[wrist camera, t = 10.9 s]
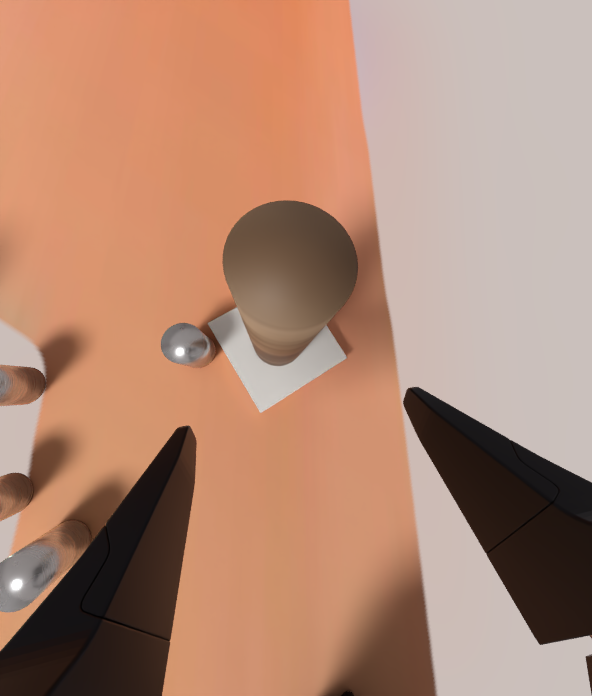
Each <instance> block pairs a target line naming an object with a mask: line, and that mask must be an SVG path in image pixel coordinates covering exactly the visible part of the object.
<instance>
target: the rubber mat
mask: <svg viewBox="0 0 592 696" xmlns="http://www.w3.org/2000/svg"><path fill="white" fill-rule="evenodd" d="M208 325H209V327H210V328H211V330H212V332H213V333H214V335H215V337H216V338H217V340H218V342H219V343H220V345H221V347H222V349H223V350H224V352H225V354H226V355H227V357H228V359H229V360H230V362H231V364H232V365H233V367H234V369H235V371H236V372H237V374H238V376H239V377H240V379H241V381H242V382H243V384H244V386H245V387H246V389H247V391H248V393H249V394H250V396H251V398H252V399H253V401H254V403H255V404H256V406H257V408H258V409H259V411H260V413H261V412H263V411H265V410H266V409H268V408H269V407H271V406H272V405H274V404H276V403H277V402H279V401H280V400H282V399H283V398H285V397H287V396H288V395H290V394H291V393H293V392H294V391H296V390H298V389H299V388H301V387H302V386H304V385H305V384H307V383H309V382H310V381H312V380H313V379H315V378H316V377H318V376H320V375H321V374H323V373H324V372H326V371H327V370H329V369H331V368H332V367H334V366H335V365H337V364H338V363H340V362H342V361H343V360H345V359H346V358H347V357H346V355H345V354H344V352H343V350H342V349H341V347H340V346H339V344H338V343H337V341H336V339H335V338H334V336H333V335H332V333H331V332H330V330H329V328H328V327H327V325H326V326H325V327H324V328H323V329H322V330H321V331H320V332H319V333H318V335H317V336H316V337H315V338H314V339H313V340H312V341H311V342H310V344H309V345H308V346H307V347H306V348H305V349H304V350H303V351H302V353H301V354H300V355H299V356H298V357H297V358H296V359H295V360H294V361H293V362H291V363H289V364H287V365H284V366H273V365H269V364H267V363H265V362H264V361H262V360H261V359H260V358H259V357H258V355H257V354H256V352H255V350H254V347H253V345H252V342H251V340H250V338H249V335H248V333H247V330H246V328H245V325H244V323H243V320H242V318H241V316H240V313H239V311H238V308H237V307H236V308H235V309H233V310H231V311H229V312H227V313H225V314H223V315H222V316H220V317H218V318H216V319H214V320H212V321H211V322H209V323H208Z"/></svg>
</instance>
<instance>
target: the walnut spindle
mask: <svg viewBox="0 0 592 696" xmlns="http://www.w3.org/2000/svg"><path fill="white" fill-rule="evenodd" d="M223 270H224V275H225V278H226V281H227V284H228V286H229V289H230V291H231V294H232V296H233V298H234V301H235V303H236V306H237V308H238V311H239V313H240V316H241V318H242V320H243V323H244V325H245V328H246V330H247V333H248V335H249V338H250V340H251V342H252V345H253V347H254V350H255V352H256V354H257V355H258V357H259V358H260V359H261V360H262V361H264V362H265V363H267V364H269V365H273V366H284V365H287V364H289V363H291V362H293V361H294V360H295V359H296V358H297V357H298V356H299V355H300V354H301V353H302V351H303V350H304V349H305V348H306V347H307V346H308V345H309V344H310V342H311V341H312V340H313V339H314V338H315V337H316V336H317V335H318V333H319V332H320V331H321V330H322V329H323V328H324V327H325V326H326V324H327V323H328V322H329V321H330V320H331V319H332V318H333V317H334V315H335V314H336V313H337V312H338V311H339V310H340V309H341V308H342V306H343V305H344V304H345V303H346V301H347V300H348V299H349V297H350V295H351V293H352V291H353V289H354V286H355V283H356V279H357V272H358V262H357V255H356V251H355V248H354V245H353V242H352V240H351V238H350V236H349V235H348V233H347V232H346V230H345V229H344V228H343V226H342V225H341V224H340V223H339V222H338V221H337V220H336V219H335V218H334V217H332V216H331V215H330V214H328V213H327V212H325V211H323V210H322V209H320V208H318V207H315V206H313V205H310V204H307V203H304V202H298V201H275V202H270V203H267V204H263V205H261V206H259V207H256V208H254V209H253V210H251V211H249V212H248V213H247V214H245V215H244V216H243V217H242V218H241V219H240V220H239V221H238V222H237V223H236V224H235V225H234V227H233V228H232V230H231V231H230V233H229V235H228V237H227V240H226V243H225V246H224V251H223Z"/></svg>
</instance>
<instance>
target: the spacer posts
mask: <svg viewBox="0 0 592 696" xmlns="http://www.w3.org/2000/svg"><path fill="white" fill-rule="evenodd" d="M161 349H162V352H163V354H164V355H165V357H166V358H167V359H169V360H170V361H172V362H175V363H178V364H182V365H186V366H189V367H193V368H202V367H205V366H207V365H208V364H209V363H211V361H212V360H213V359H214V356H215V352H216V349H215V345H214V343H213V341H212V340H211V339H210V338H209V337H207V336H206V335H205V334H204V333H203V332H201V331H200V330H199V329H198V328H197V327H195V326H193V325H191V324H188V323H179V324H176V325H173V326H171V327H170V328H169V329H167V330H166V332H165V333H164V335H163V337H162V340H161ZM45 385H46V382H45V377H44V375H43V374H42V373H41V372H40V371H39V370H37V369H35V368H30V367H20V366H19V367H18V366H9V365H0V406H9V405H23V404H29V403H31V402H33V401H35V400H37V399H38V398H39V397H40V396H41V395H42V393H43V391H44V389H45ZM32 494H33V486H32V483H31V481H30V479H29V478H28V477H27V476H25V475H23V474H20V473H10V474H7V475H4V476H1V477H0V521H2V520H4V519H6V518H8V517H10V516H12V515H14V514H16V513H18V512H20V511H21V510H23V509H24V508H25V507H26V506H27V505H28V503H29V502H30V500H31V498H32ZM90 541H91V534H90V531H89V529H88V527H87V526H86V525H85V524H84V523H83V522H81V521H78V520H69V521H65V522H63V523H61V524H59V525H58V526H56V527H55V528H53V529H52V530H50V531H49V532H47V533H45V534H44V535H42V536H41V537H39V538H38V539H36V540H35V541H33V542H32V543H30V544H28V545H27V546H25V547H24V548H22V549H21V550H19V551H18V552H16V553H14V554H13V555H11V556H10V557H8V558H7V559H5V560H4V561H3V562H1V563H0V611H2V612H15V611H18V610H21V609H23V608H25V607H26V606H28V605H29V604H30V603H31V602H32V601H33V600H35V599H36V598H37V597H38V596H39V595H40V594H41V593H42V592H44V591H45V590H46V589H47V588H48V587H49V586H50V585H51V584H52V583H54V582H55V581H56V580H57V579H58V578H59V577H60V576H61V575H62V574H64V573H65V572H66V571H67V570H68V569H69V568H70V567H71V566H73V565H74V564H75V563H76V562H77V560H78V559H79V558H80V557H81V555H82V554H83V553H84V552H85V550H86V549H87V548H88V546H89V545H90Z"/></svg>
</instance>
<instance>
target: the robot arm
mask: <svg viewBox="0 0 592 696" xmlns="http://www.w3.org/2000/svg"><path fill="white" fill-rule="evenodd" d="M403 404H404V407H405V410H406V412H407V414H408V416H409V418H410V420H411V423H412V425H413V427H414V429H415V432H416V433H417V435H418V438H419V440H420V441H421V443H422V445H423V447H424V448H425V450H426V452H427V454H428V455H429V457H430V459H431V460H432V462H433V464H434V465H435V467H436V469H437V471H438V472H439V474H440V476H441V477H442V479H443V481H444V483H445V484H446V486H447V488H448V489H449V491H450V493H451V495H452V496H453V498H454V500H455V501H456V503H457V505H458V507H459V508H460V510H461V512H462V513H463V515H464V516H465V518H466V520H467V522H468V524H469V525H470V527H471V529H472V530H473V532H474V534H475V536H476V537H477V539H478V540H479V542H480V544H481V546H482V548H483V549H484V551H485V553H487V556H488V558H489V560H490V562H491V563H492V565H493V566H494V568H495V570H496V572H497V573H498V575H499V577H500V579H501V580H502V582H503V584H504V585H505V587H506V589H507V591H508V592H509V594H510V596H511V597H512V599H513V601H514V603H515V604H516V606H517V608H518V609H519V611H520V613H521V614H522V616H523V618H524V620H525V621H526V623H527V625H528V626H529V628H530V630H531V632H532V633H533V635H534V637H535V638H536V639H537V641H538V643H539V644H540V645H543V644H548V643H552V642H558V641H563V640H568V639H574V638H579V637H583V636H590V637H591V638H592V483H591V482H589V481H587V480H585V479H583V478H581V477H580V476H578V475H575V474H574V473H572V472H569V471H568V470H566V469H564V468H562V467H560V466H558V465H556V464H554V463H552V462H550V461H548V460H546V459H544V458H542V457H540V456H538V455H537V454H535V453H533V452H531V451H529V450H528V449H526V448H524V447H522V446H520V445H519V444H517V443H515V442H513V441H511V440H509V439H508V438H506V437H505V436H503V435H501V434H499V433H498V432H496V431H494V430H492V429H491V428H489V427H487V426H485V425H484V424H482V423H480V422H478V421H477V420H475V419H473V418H471V417H470V416H468V415H466V414H464V413H462V412H461V411H459V410H457V409H456V408H454V407H452V406H450V405H449V404H447V403H445V402H443V401H442V400H440V399H438V398H436V397H435V396H433V395H431V394H429V393H428V392H426V391H424V390H422V389H421V388H419V387H412V388H408V389H407V391H406V394H405V398H404V401H403ZM195 466H196V438H195V435H194V433H193V431H192V429H191V427H190V426H182V427H179V428H177V429H176V431H175V432H174V433H173V435H172V436H171V437H170V439H169V440H168V441H167V443H166V444H165V445H164V447H163V448H162V449H161V451H160V452H159V453H158V455H157V456H156V457H155V459H154V460H153V461H152V463H151V464H150V465H149V467H148V468H147V469H146V471H145V472H144V473H143V475H142V476H141V477H140V479H139V480H138V481H137V483H136V484H135V485H134V487H133V488H132V489H131V491H130V492H129V493H128V495H127V496H126V497H125V499H124V500H123V501H122V503H121V504H120V505H119V507H118V508H117V509H116V511H115V512H114V513H113V515H112V516H111V517H110V519H109V520H108V521H107V523H106V526H104V527H103V528H102V529H101V531H100V532H99V533H98V535H97V536H96V537H95V539H94V540H93V541H92V542H91V544H90V545H89V546H88V548H87V549H86V550H85V552H84V553H83V554H82V555H81V557H80V558H79V559H78V560H77V562H76V563H75V564H74V565H73V567H72V568H71V569H70V570H69V571H68V573H67V574H66V575H65V576H64V577H63V579H62V580H61V581H60V582H59V583H58V585H57V586H56V587H55V588H54V589H53V590H52V592H51V593H50V594H49V595H48V596H47V598H46V599H45V600H44V601H43V602H42V603H41V605H40V606H39V607H38V608H37V609H36V610H35V612H34V613H33V614H32V615H31V616H30V617H29V619H28V620H27V621H26V622H25V623H24V625H23V626H22V627H21V628H20V629H19V630H18V632H17V633H16V634H15V635H14V636H13V637H12V639H11V640H10V641H9V642H8V643H7V644H6V645H5V647H4V648H3V649H2V650H1V651H0V696H162V691H163V685H164V678H165V672H166V666H167V659H168V653H169V646H170V639H171V633H172V626H173V620H174V614H175V607H176V601H177V594H178V588H179V581H180V575H181V569H182V562H183V556H184V549H185V543H186V537H187V530H188V524H189V517H190V511H191V505H192V498H193V492H194V484H195ZM586 662H587V668H588V675H589V681H590V687H591V693H592V655H589V656H586ZM342 696H354V694H353V693H352V692H350V691H348V692H345V693H344V694H343V695H342Z"/></svg>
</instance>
